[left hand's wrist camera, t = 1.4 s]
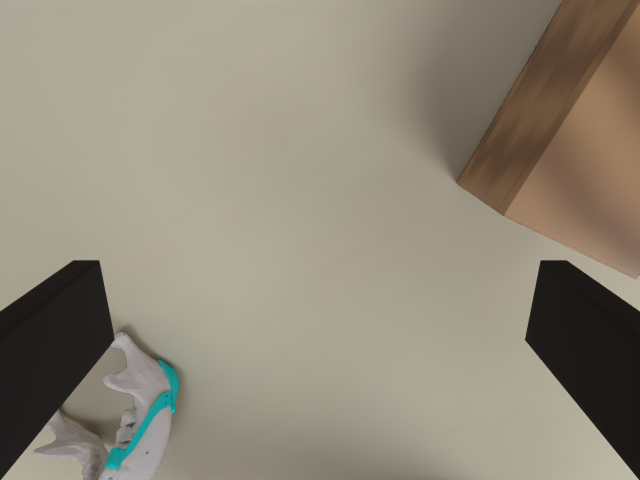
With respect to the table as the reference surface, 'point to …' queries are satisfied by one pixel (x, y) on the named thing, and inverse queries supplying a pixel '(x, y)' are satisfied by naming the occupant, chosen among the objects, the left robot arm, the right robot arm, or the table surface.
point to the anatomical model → (124, 422)
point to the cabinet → (572, 136)
